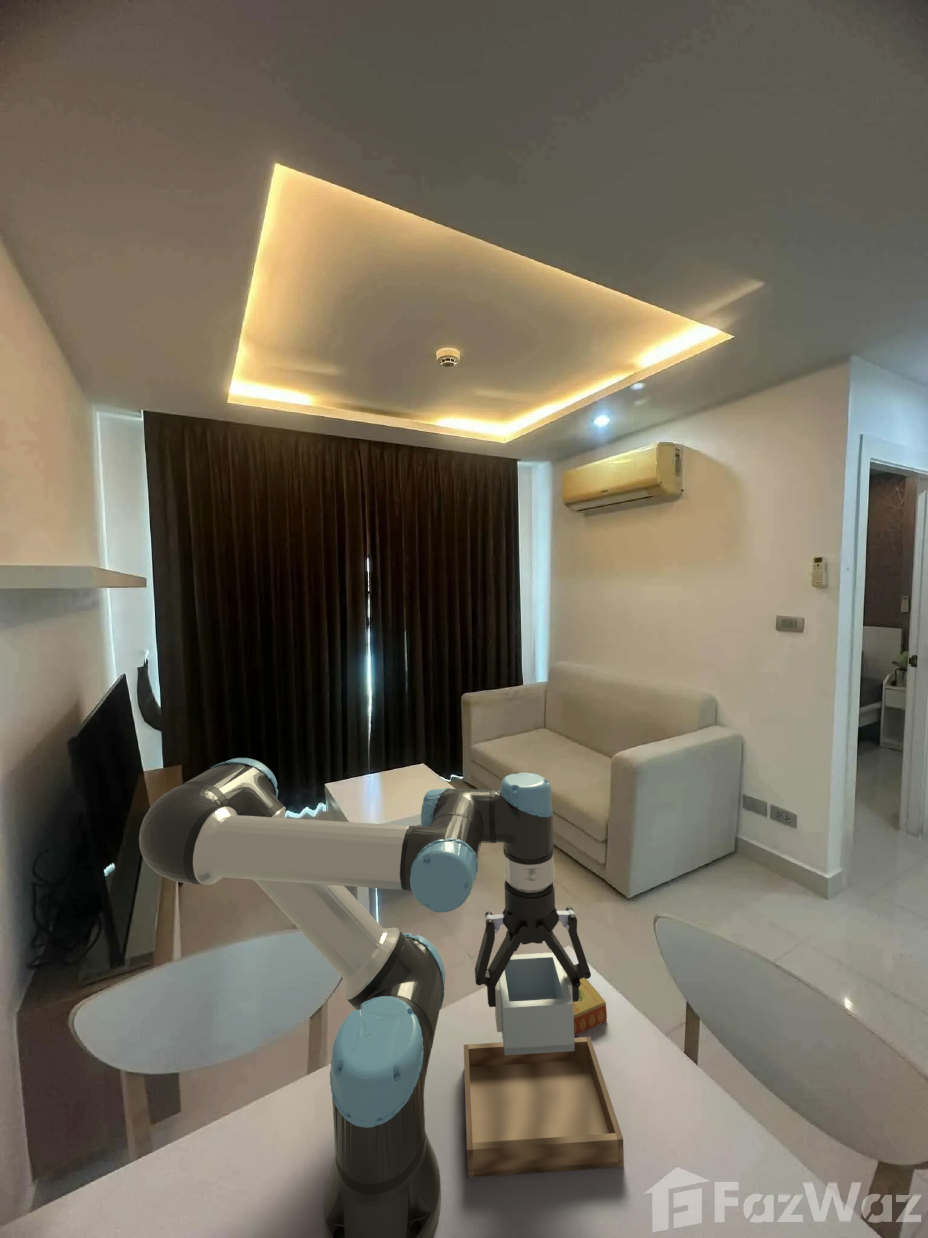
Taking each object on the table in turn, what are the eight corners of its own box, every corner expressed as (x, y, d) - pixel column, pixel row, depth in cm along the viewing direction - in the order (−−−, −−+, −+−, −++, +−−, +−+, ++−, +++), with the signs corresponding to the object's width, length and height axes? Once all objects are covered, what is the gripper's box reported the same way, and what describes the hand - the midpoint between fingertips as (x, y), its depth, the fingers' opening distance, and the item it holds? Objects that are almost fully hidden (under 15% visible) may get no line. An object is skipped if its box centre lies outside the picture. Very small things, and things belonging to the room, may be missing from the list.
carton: (607, 1024, 89) (607, 1001, 89) (531, 1057, 83) (531, 1033, 83) (581, 990, 97) (580, 970, 97) (509, 1018, 91) (509, 996, 91)
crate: (468, 1178, 66) (466, 1150, 66) (464, 1067, 82) (463, 1044, 81) (623, 1167, 67) (623, 1139, 66) (590, 1059, 82) (590, 1037, 82)
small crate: (497, 997, 78) (496, 955, 78) (558, 993, 79) (557, 952, 78) (504, 1055, 69) (503, 1008, 68) (574, 1051, 69) (573, 1003, 68)
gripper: (454, 899, 69) (460, 1049, 69) (611, 890, 69) (615, 1039, 70) (454, 869, 76) (459, 1005, 77) (595, 862, 77) (599, 997, 78)
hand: (533, 1022), depth 73 cm, fingers closed on small crate, 10 cm apart
